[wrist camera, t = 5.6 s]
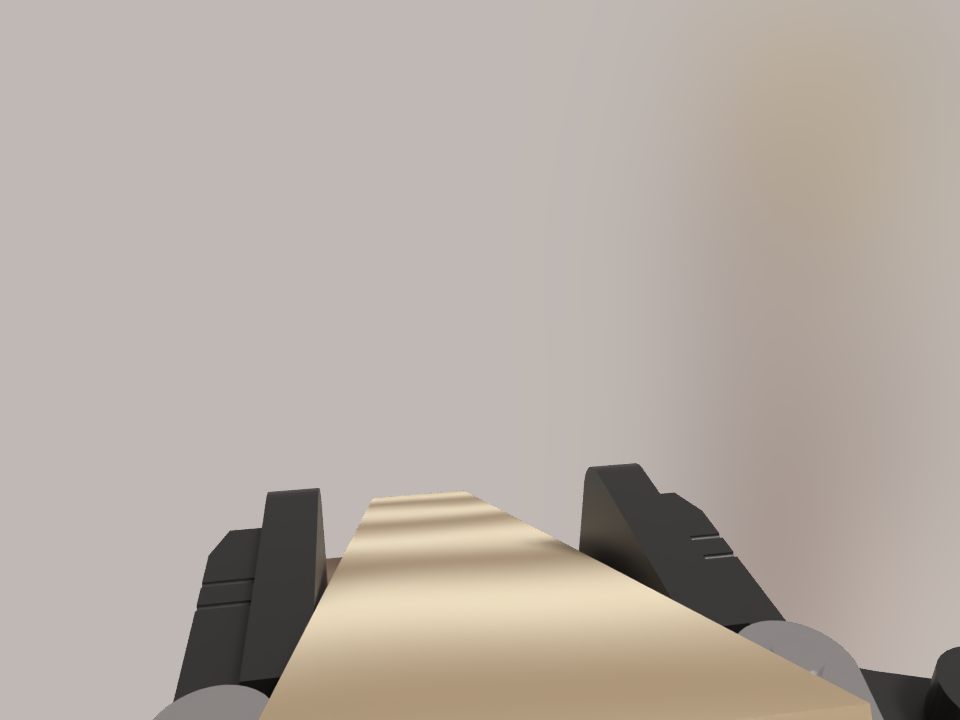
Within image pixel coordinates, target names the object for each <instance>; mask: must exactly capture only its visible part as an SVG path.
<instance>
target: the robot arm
mask: <svg viewBox="0 0 960 720" xmlns="http://www.w3.org/2000/svg"><path fill="white" fill-rule="evenodd" d="M321 505H322V504H321V495H320V489H319V488H314V489H302V490H290V491H276V492H268V494H267V498H266V504H265V512H264V518H263V525H262V528H257V529H245V530H234V531H229V533H228V534H227V535H226V536H225V537H224V538H223V540H222V541H221V542H220V543H219V544H218V545H217V547H216V548H215V549H214V550H213V551H212V552H211V554H210V555H209V557H208V561H207V565H206V569H205V573H204V577H203V582H202V588H201V590H200V594H199V598H198V602H197V611H196V612H195V615H194V619H193V623H192V627H191V631H190V636H189V640H188V644H187V648H186V652H185V656H184V660H183V665H182V669H181V673H180V677H179V681H178V686H177V690H176V694H175V698H174V701H173V703H172V704H170V705H169V706H167V707H166V708H165V709H164V710H162V711H161V712H160V713H159V714H158V715H157V716H156V717H155V718H154V719H153V720H259V718H260V716H261V714H262V712H263V710H264V708H265V706H266V705H267V703H268V701H269V699H270V697H271V695H272V693H273V691H274V689H275V687H276V685H277V683H278V681H279V679H280V677H281V675H282V674H283V672H284V670H285V668H286V666H287V664H288V662H289V660H290V658H291V656H292V654H293V652H294V650H295V648H296V646H297V644H298V643H299V641H300V639H301V637H302V635H303V633H304V631H305V629H306V627H307V625H308V623H309V621H310V619H311V617H312V615H313V613H314V611H315V610H316V608H317V606H318V604H319V602H320V600H321V598H322V596H323V594H324V592H325V590H326V588H327V586H328V581H327V567H326V555H325V543H324V530H323V517H322V506H321ZM579 551H580V552H582V553H584V554H586V555H588V556H590V557H592V558H593V559H595V560H597V561H599V562H601V563H603V564H605V565H607V566H609V567H611V568H613V569H614V570H616V571H618V572H620V573H622V574H624V575H626V576H628V577H630V578H632V579H634V580H635V581H637V582H639V583H641V584H643V585H645V586H647V587H649V588H651V589H653V590H655V591H656V592H658V593H660V594H662V595H664V596H666V597H668V598H670V599H672V600H674V601H676V602H677V603H679V604H681V605H683V606H685V607H687V608H689V609H691V610H693V611H695V612H697V613H698V614H700V615H702V616H704V617H706V618H708V619H710V620H712V621H714V622H716V623H718V624H719V625H721V626H723V627H725V628H727V629H729V630H731V631H733V632H735V633H737V634H739V635H740V636H742V637H744V638H746V639H748V640H750V641H752V642H754V643H756V644H758V645H760V646H761V647H763V648H765V649H767V650H769V651H771V652H773V653H775V654H777V655H779V656H781V657H782V658H784V659H786V660H788V661H790V662H792V663H794V664H796V665H798V666H800V667H802V668H803V669H805V670H807V671H809V672H811V673H813V674H815V675H817V676H819V677H821V678H823V679H824V680H826V681H828V682H830V683H832V684H834V685H836V686H838V687H840V688H842V689H844V690H846V691H847V692H849V693H851V694H853V695H855V696H857V697H859V698H861V699H863V700H865V701H867V702H868V703H870V706H871V714H872V720H960V647H956V648H952V649H950V650H947V651H946V652H944V653H943V654H942V655H941V656H940V658H939V659H938V661H937V664H936V667H935V670H934V673H933V676H932V679H929V678H922V677H915V676H907V675H900V674H893V673H885V672H878V671H872V670H866V669H861V668H859V667H858V665H857V663H856V662H855V660H854V659H853V658H852V657H851V655H850V654H849V653H848V652H847V651H846V650H845V649H844V648H843V647H842V646H841V645H839V644H838V643H837V642H835V641H834V640H833V639H831V638H830V637H828V636H826V635H824V634H823V633H821V632H819V631H816V630H814V629H812V628H809V627H807V626H804V625H801V624H797V623H792V622H786V620H785V619H784V618H783V617H782V615H781V614H780V612H779V611H778V610H777V608H776V607H775V606H774V605H773V603H772V602H771V601H770V599H769V598H768V597H767V595H766V594H765V593H764V591H763V590H762V589H761V587H760V586H759V585H758V584H757V582H756V581H755V580H754V578H753V577H752V576H751V574H750V573H749V572H748V570H747V569H746V568H745V566H744V565H743V564H742V563H741V561H740V560H739V559H738V557H734V555H733V551H732V550H731V548H730V547H729V545H728V544H727V543H726V542H725V540H724V539H723V538H720V537H719V532H718V531H717V530H716V529H715V527H714V526H713V524H712V523H711V522H710V521H709V519H708V518H707V517H706V515H705V514H704V513H703V511H702V510H700V509H698V508H697V507H696V506H694V505H692V504H691V503H689V502H688V501H686V500H685V499H683V498H682V497H680V496H679V495H677V494H676V493H665V494H660V493H659V492H658V490H657V489H656V487H655V486H654V484H653V483H652V482H651V480H650V479H649V477H648V476H647V474H646V473H645V472H644V470H643V469H642V467H641V466H640V465H639V464H636V463H634V464H623V465H622V464H621V465H609V466H596V467H589V468H588V470H587V472H586V475H585V481H584V494H583V507H582V519H581V533H580V545H579Z"/></svg>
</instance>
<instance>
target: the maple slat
mask: <svg viewBox="0 0 960 720" xmlns="http://www.w3.org/2000/svg"><path fill="white" fill-rule="evenodd" d="M259 720H872V714H871V706H870V703H868V702H867V701H865V700H863V699H861V698H859V697H857V696H855V695H853V694H851V693H849V692H847V691H846V690H844V689H842V688H840V687H838V686H836V685H834V684H832V683H830V682H828V681H826V680H824V679H823V678H821V677H819V676H817V675H815V674H813V673H811V672H809V671H807V670H805V669H803V668H802V667H800V666H798V665H796V664H794V663H792V662H790V661H788V660H786V659H784V658H782V657H781V656H779V655H777V654H775V653H773V652H771V651H769V650H767V649H765V648H763V647H761V646H760V645H758V644H756V643H754V642H752V641H750V640H748V639H746V638H744V637H742V636H740V635H739V634H737V633H735V632H733V631H731V630H729V629H727V628H725V627H723V626H721V625H719V624H718V623H716V622H714V621H712V620H710V619H708V618H706V617H704V616H702V615H700V614H698V613H697V612H695V611H693V610H691V609H689V608H687V607H685V606H683V605H681V604H679V603H677V602H676V601H674V600H672V599H670V598H668V597H666V596H664V595H662V594H660V593H658V592H656V591H655V590H653V589H651V588H649V587H647V586H645V585H643V584H641V583H639V582H637V581H635V580H634V579H632V578H630V577H628V576H626V575H624V574H622V573H620V572H618V571H616V570H614V569H613V568H611V567H609V566H607V565H605V564H603V563H601V562H599V561H597V560H595V559H593V558H592V557H590V556H588V555H586V554H584V553H582V552H580V551H578V550H576V549H574V548H572V547H570V546H569V545H567V544H565V543H563V542H561V541H559V540H557V539H555V538H553V537H551V536H550V535H548V534H546V533H543V532H542V531H540V530H538V529H536V528H534V527H532V526H530V525H529V524H527V523H525V522H523V521H521V520H519V519H517V518H515V517H513V516H511V515H509V514H507V513H506V512H503V511H502V510H500V509H498V508H496V507H494V506H492V505H490V504H488V503H487V502H485V501H483V500H481V499H479V498H477V497H475V496H473V495H471V494H469V493H467V492H466V491H454V492H440V493H428V494H416V495H403V496H390V497H378V498H373V499H372V502H371V503H370V505H369V507H368V509H367V511H366V513H365V515H364V517H363V518H362V521H361V523H360V524H359V526H358V528H357V531H356V532H355V534H354V536H353V538H352V540H351V542H350V544H349V546H348V548H347V549H346V551H345V553H344V556H343V557H342V559H341V561H340V563H339V565H338V567H337V569H336V571H335V573H334V575H333V577H332V579H331V580H330V582H329V584H328V586H327V588H326V590H325V592H324V594H323V596H322V598H321V600H320V602H319V604H318V606H317V608H316V610H315V611H314V613H313V615H312V617H311V619H310V621H309V623H308V625H307V627H306V629H305V631H304V633H303V635H302V637H301V639H300V641H299V643H298V644H297V646H296V648H295V650H294V652H293V654H292V656H291V658H290V660H289V662H288V664H287V666H286V668H285V670H284V672H283V674H282V675H281V677H280V679H279V681H278V683H277V685H276V687H275V689H274V691H273V693H272V695H271V697H270V699H269V701H268V703H267V705H266V706H265V708H264V710H263V712H262V714H261V716H260V718H259Z"/></svg>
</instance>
